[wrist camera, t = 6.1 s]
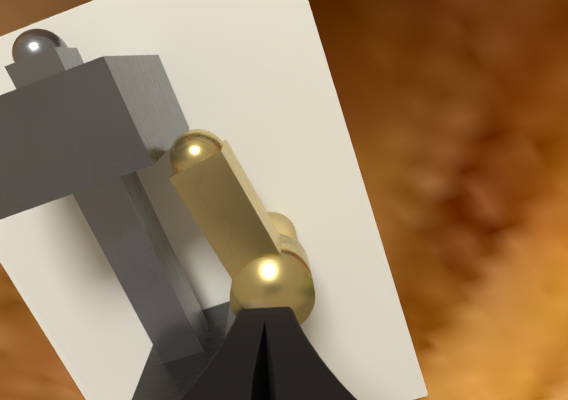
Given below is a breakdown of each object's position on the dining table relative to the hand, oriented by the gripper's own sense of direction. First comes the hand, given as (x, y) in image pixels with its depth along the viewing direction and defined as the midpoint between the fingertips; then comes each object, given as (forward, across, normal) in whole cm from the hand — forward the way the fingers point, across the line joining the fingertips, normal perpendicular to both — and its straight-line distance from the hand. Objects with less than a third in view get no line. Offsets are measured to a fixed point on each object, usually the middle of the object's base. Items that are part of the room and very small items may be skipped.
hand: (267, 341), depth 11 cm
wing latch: (+5, +1, -2) cm, 5 cm away
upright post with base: (+8, +5, 0) cm, 9 cm away
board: (+9, +3, +2) cm, 10 cm away
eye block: (+8, +6, -5) cm, 11 cm away
